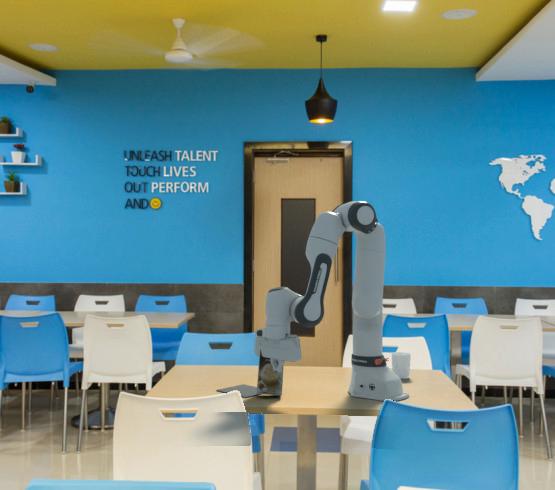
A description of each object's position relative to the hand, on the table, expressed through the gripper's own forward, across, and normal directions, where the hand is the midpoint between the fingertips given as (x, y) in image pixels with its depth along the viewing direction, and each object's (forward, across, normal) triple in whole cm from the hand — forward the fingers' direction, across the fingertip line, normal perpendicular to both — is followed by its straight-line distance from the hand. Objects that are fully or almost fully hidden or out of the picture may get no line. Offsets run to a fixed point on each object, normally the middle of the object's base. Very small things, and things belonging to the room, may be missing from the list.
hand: (277, 371), depth 207 cm
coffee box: (+9, +4, 0) cm, 10 cm away
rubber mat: (+10, +17, 0) cm, 20 cm away
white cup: (+10, -11, -64) cm, 66 cm away
